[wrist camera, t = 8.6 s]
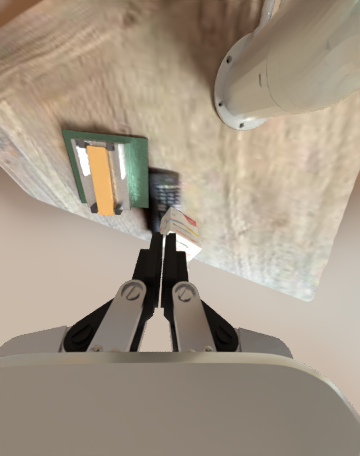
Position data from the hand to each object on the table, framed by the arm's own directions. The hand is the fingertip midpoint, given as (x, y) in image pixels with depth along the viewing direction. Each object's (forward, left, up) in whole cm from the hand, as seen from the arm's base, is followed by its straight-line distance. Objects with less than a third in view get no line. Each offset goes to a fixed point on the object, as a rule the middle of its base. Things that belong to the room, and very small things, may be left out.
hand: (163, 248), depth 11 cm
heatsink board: (+2, -13, -27) cm, 30 cm away
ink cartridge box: (+13, +3, -27) cm, 30 cm away
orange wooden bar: (+3, -13, -21) cm, 25 cm away
